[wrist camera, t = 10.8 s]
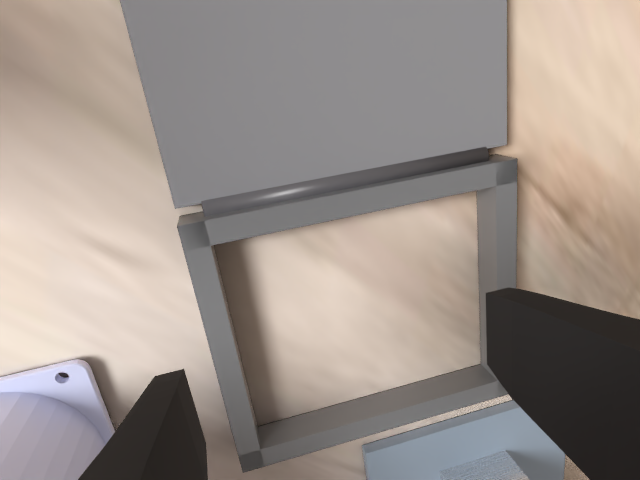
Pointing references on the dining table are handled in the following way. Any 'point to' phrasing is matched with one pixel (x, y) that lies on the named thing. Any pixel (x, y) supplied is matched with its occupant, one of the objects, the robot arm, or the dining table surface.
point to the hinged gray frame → (327, 158)
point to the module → (486, 469)
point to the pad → (466, 446)
